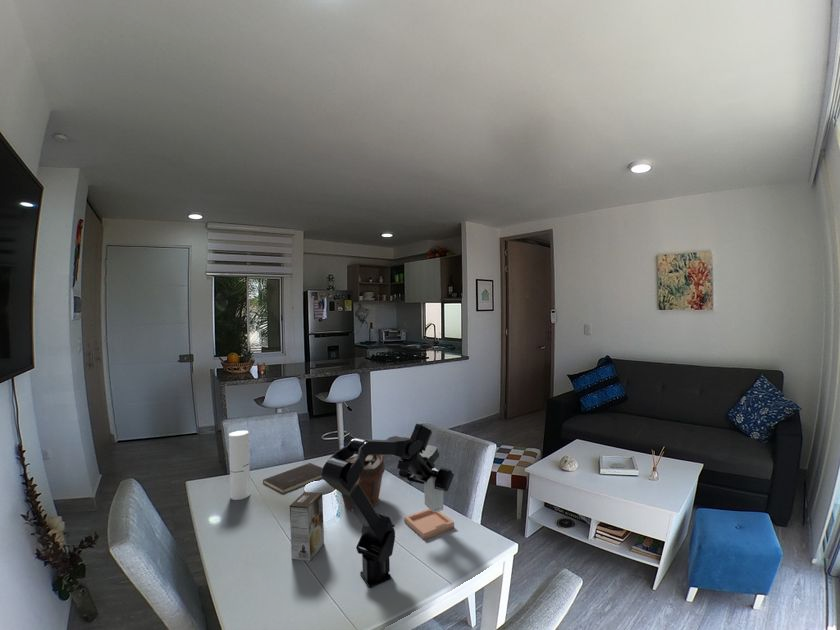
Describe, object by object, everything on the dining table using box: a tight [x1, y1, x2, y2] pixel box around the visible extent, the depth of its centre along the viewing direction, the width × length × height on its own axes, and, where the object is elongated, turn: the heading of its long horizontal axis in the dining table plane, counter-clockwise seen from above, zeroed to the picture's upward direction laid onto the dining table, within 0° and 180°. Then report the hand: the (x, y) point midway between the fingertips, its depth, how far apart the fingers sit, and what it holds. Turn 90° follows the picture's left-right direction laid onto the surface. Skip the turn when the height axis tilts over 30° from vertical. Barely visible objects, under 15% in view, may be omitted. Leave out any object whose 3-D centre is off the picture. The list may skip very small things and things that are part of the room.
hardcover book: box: [262, 462, 323, 494], centre depth 171 cm, size 16×23×2 cm
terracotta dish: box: [404, 508, 455, 540], centre depth 131 cm, size 12×12×2 cm
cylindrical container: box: [228, 429, 251, 501], centre depth 156 cm, size 7×7×25 cm
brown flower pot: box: [341, 455, 386, 511], centre depth 148 cm, size 18×20×18 cm
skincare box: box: [423, 467, 444, 512], centre depth 130 cm, size 6×4×12 cm
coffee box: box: [289, 491, 325, 562], centre depth 118 cm, size 9×6×16 cm
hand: (436, 485), depth 131 cm, fingers closed on skincare box, 7 cm apart
